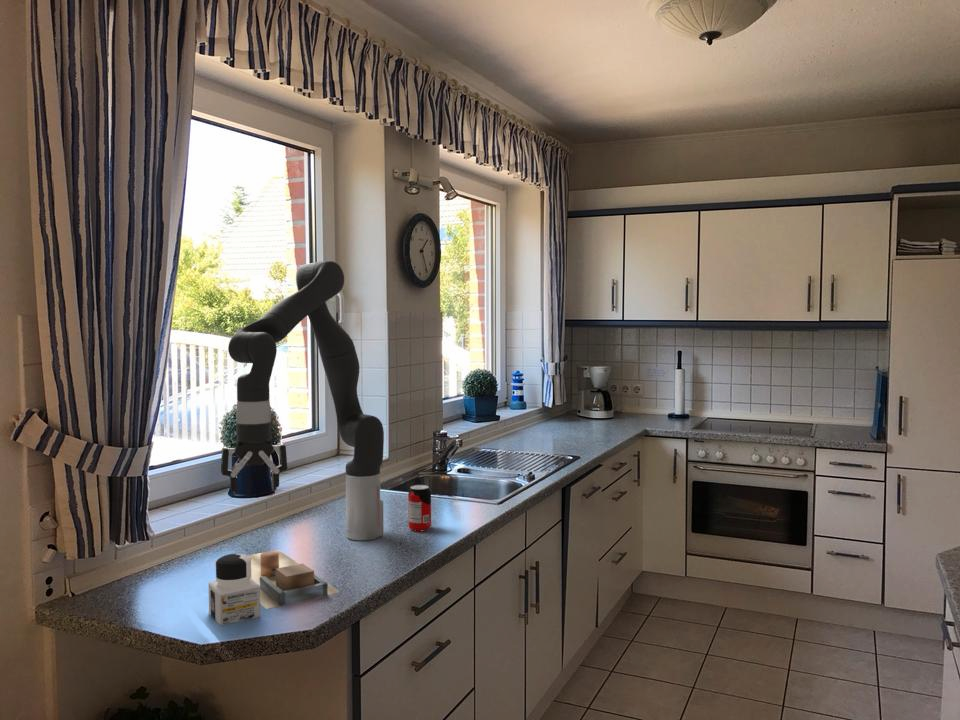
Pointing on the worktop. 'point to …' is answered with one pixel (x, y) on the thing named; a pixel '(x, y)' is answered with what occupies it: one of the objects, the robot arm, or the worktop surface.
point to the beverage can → (419, 507)
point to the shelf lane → (277, 597)
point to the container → (234, 590)
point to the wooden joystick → (285, 572)
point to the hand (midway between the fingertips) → (254, 491)
